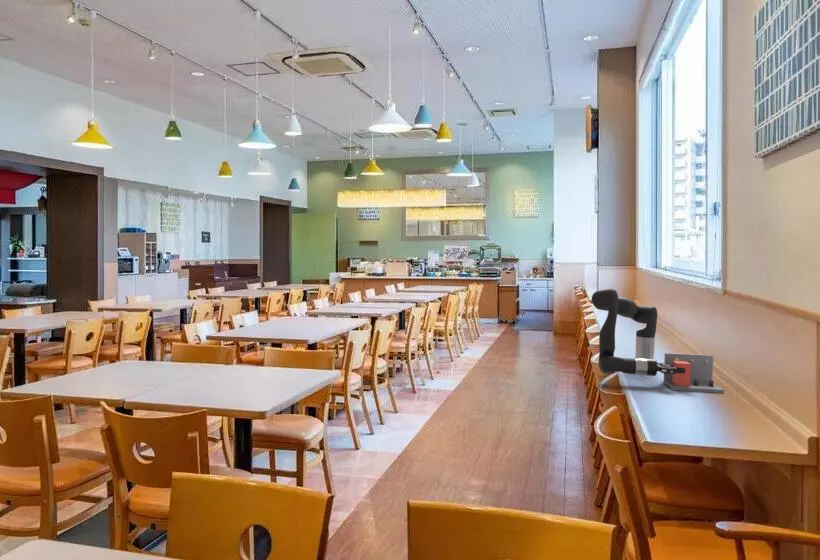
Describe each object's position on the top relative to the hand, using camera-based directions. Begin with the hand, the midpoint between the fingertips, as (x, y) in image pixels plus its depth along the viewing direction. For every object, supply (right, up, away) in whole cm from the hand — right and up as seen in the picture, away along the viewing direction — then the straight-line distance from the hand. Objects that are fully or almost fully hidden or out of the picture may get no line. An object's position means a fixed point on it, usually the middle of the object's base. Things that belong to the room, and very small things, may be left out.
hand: (682, 369), depth 283 cm
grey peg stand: (+5, -9, +1) cm, 10 cm away
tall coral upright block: (-1, -7, 0) cm, 7 cm away
